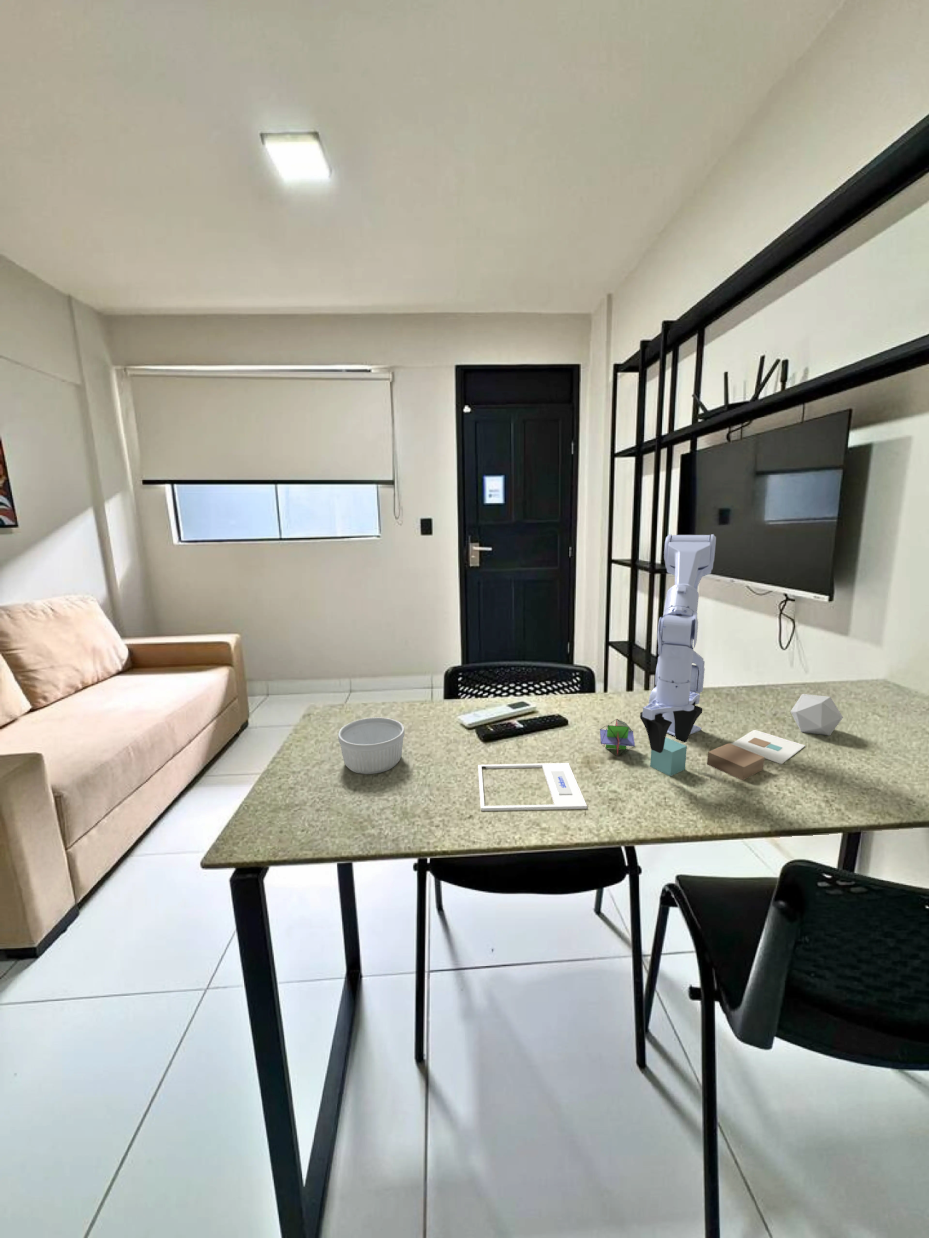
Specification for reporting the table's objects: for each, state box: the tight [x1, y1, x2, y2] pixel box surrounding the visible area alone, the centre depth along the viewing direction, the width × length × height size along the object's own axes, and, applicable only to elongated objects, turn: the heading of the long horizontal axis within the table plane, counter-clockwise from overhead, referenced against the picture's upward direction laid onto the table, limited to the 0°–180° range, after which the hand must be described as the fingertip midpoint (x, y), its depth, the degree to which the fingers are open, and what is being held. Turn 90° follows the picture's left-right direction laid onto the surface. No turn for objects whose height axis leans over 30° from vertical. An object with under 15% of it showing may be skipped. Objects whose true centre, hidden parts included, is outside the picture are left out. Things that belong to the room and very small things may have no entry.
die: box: [790, 693, 844, 737], centre depth 107 cm, size 8×9×10 cm
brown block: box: [706, 742, 765, 781], centre depth 93 cm, size 7×7×3 cm
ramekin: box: [337, 716, 405, 775], centre depth 98 cm, size 13×13×7 cm
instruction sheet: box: [731, 729, 806, 765], centre depth 102 cm, size 10×12×1 cm
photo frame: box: [477, 762, 588, 812], centre depth 88 cm, size 15×1×18 cm
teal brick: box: [649, 737, 688, 777], centre depth 93 cm, size 4×4×5 cm
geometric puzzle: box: [599, 718, 636, 758], centre depth 100 cm, size 7×7×8 cm
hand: (669, 745), depth 93 cm, fingers open, 7 cm apart
